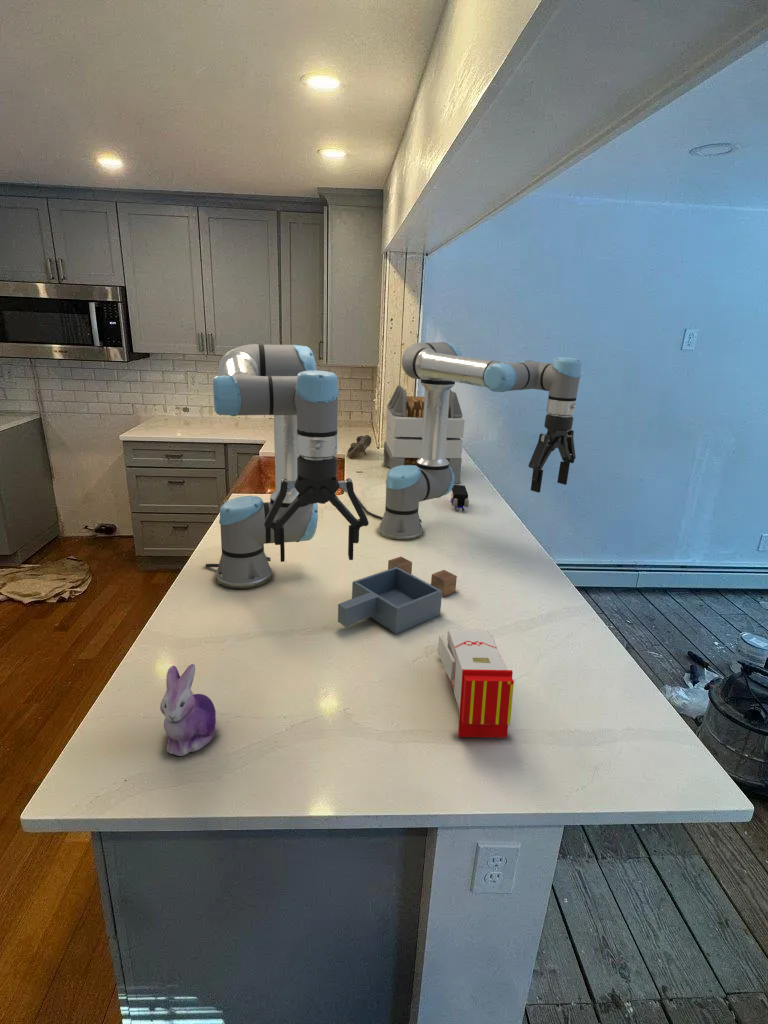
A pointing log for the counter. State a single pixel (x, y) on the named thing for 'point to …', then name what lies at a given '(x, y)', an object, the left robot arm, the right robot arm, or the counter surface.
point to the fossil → (359, 446)
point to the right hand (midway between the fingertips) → (548, 487)
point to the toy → (478, 682)
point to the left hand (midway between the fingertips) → (316, 558)
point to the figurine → (186, 714)
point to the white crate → (419, 431)
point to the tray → (391, 600)
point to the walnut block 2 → (444, 582)
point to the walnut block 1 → (400, 564)
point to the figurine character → (459, 497)
